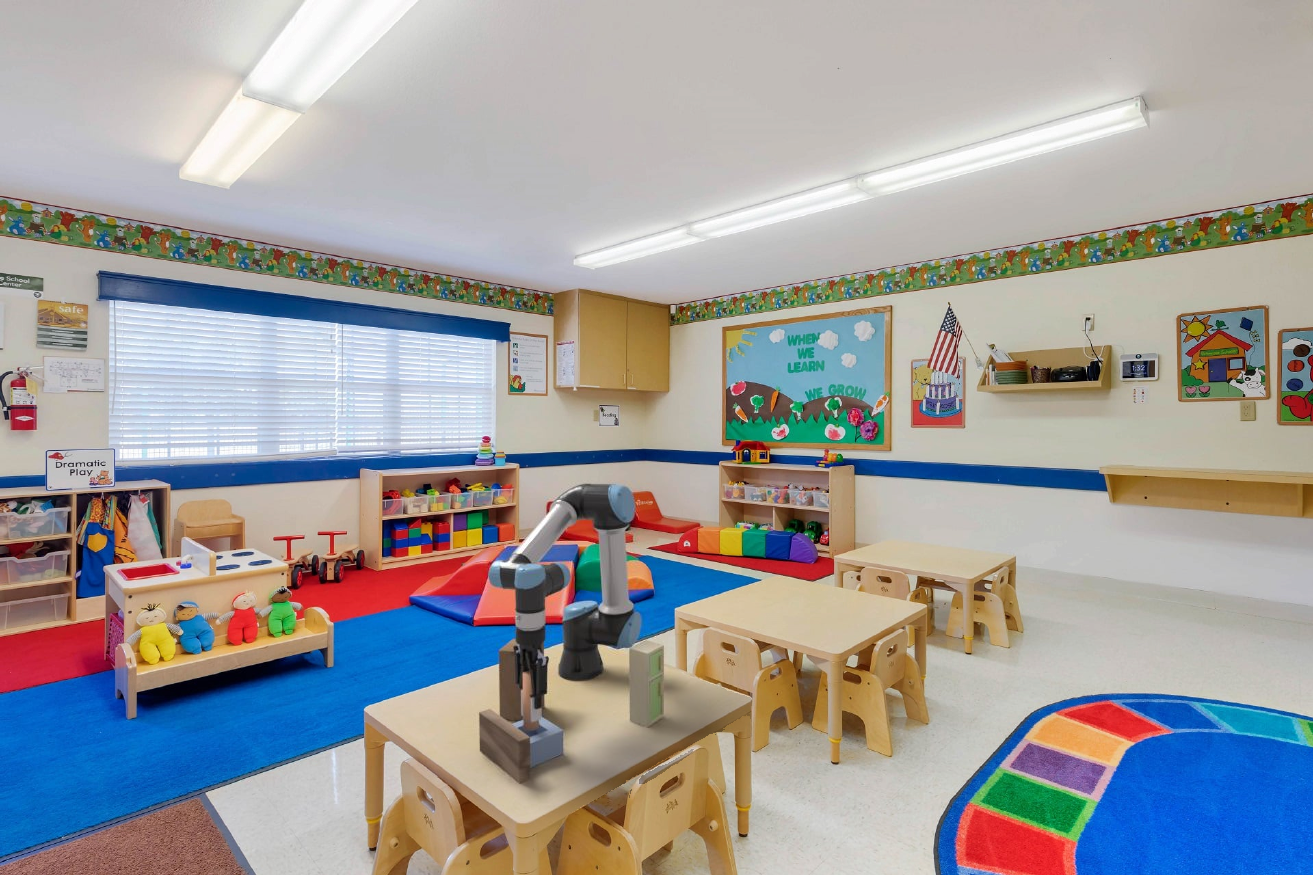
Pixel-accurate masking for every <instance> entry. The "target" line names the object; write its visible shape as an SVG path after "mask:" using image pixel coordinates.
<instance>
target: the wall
mask: <svg viewBox="0 0 1313 875" xmlns="http://www.w3.org/2000/svg"><path fill="white" fill-rule="evenodd" d="M478 719H479V720H478V722H479V724H478V725H479V728H478V729H479V731H478V732H479V733H478V734H479V751H480V752H481V753H482V754H483V755H484V756H486V757H487V758H488V759H489V760H490V761H491V762H493V763H494V764H495V765H496V766H497V767H499V768H500V770H502V771H503V772H505V773H506V774H507V775H509V777H511V778H512V779H513V780H514V781H515V782H517V783H518V784H521V783H523V782H526V781H529V780H531V778H532V777H531V775H532V774H531V768H530V737H529V736H528V735H526V734H525V733H524V732H522V731H521V730H519V729H518V728H516V727H515V726H514V725H512V724H513V723H511V722H509V721H508V719H504V718H502V717H501V716H500V714H498V713H496V712H495V711H494V710H492V709H491V708H488V709H485V710H482V711H479V712H478Z"/></svg>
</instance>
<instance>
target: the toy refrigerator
mask: <svg viewBox="0 0 1313 875" xmlns="http://www.w3.org/2000/svg"><path fill="white" fill-rule="evenodd" d="M628 649H629V651H628V654H629V655H628V658H629V660H628V661H629V663H628V664H629V671H628V672H629V674H628V675H629V721H630V722H632V723H635V724H637V725H639V726H643V727H645V728H649V727H650V726H652V725H653V724H655V723H657V722H658V721H661V719H663V718H664V717H665V645H664V644H661V643H657V642H653V641H649V640H644V641H642V642H639V643H637V644H636V645H635V644H634V645H633V646H632V647H630V648H628Z"/></svg>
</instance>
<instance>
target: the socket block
mask: <svg viewBox="0 0 1313 875" xmlns="http://www.w3.org/2000/svg"><path fill="white" fill-rule="evenodd" d="M511 724H512V725H514V726H515V727H516V728H518V729H519V730H521V731H522V732H524V733H525V734H526V735H528V736H529V737H530V769H532V768H533V767H535V766H538V765H539V764H543V763H545V762H547V761H549V760H552V759H553V758H554V759H555V758H556V757H558V756H561V755H564V729H561V727H559V726H557V725H556V724H554V723H553V722H551V721H550V720H548V719H546V718H544V717H543V716H541V719H540V720H539V728H538V729H536V730H533V731H526V730H524V729H523V720H521V721H516V722H514V723H511Z"/></svg>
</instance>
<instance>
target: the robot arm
mask: <svg viewBox="0 0 1313 875" xmlns="http://www.w3.org/2000/svg"><path fill="white" fill-rule="evenodd" d="M635 512H636V501H635V497H634V494H633V492H632V490H630V488H629V487H628V486H626V485H623V484H622V485H621V484H616V483H614V484H613V483H612V484H611V483H610V484H609V483H608V484H607V483H606V484H605V483H582V484H577V485H575V486H573V487H571V488H569V489H568V490H566V491H564V492H562V494H560V495H559V496H558V497H557V498H556V499H554V501H553V502H552V503H551V504H550V507H549V512H547V513H546V515H545V516H544V517H543V518H542V519H541V520H540V522H539V523H538V524H537V525H535V527H534V528H533V529H532V531H531V532H530V533H529V534H528V535H527V536H526V538H524V540H523V541H522V542H521V543H520V545H518V546H517V548H516V549H515V550H514V551H513V552H512V553H511V554H510V556H509V557H508V558H507V559H499V560H495V561H494V562H492V564H491V565H490V567H489V570H488V576H487V577H488V580H489V583H490V585H491V586H492V587H495V588H498V589H503V590H512V591H513V590H514V593H515V594H514V596H515V598H514V601H515V609H514V610H515V617H514V620H515V626H516V627H515V639H516V643H517V644H519V645H516V646H514V647H513V649H514V654H515V680H516V684H519V688H520V689H521V715H522V716H523V672H525V671H528V670H530V677H531V686H532V695H530V704H531V722H535V721H537V720H540V719H541V717H542V710H541V707H542V695H544V696H545V695H547V693H548V665H549V661H550V659H549V656H548V655H547V656H545V655H544V656H543V654H542V647H541V644H542V643H543V642H544V643H545V641H546V626H545V625H546V620H547V619H546V598H547V597H549V596H551V595H553V594H556V593H559V592H561V591H562V590H564V589H565V588H567V587H568V586H569V584H570V582H571V577H572V576H571V571H570V569H569V567H568V566H567V565H566V564H565V563H564V562H561V561H560V562H559V561H557V562H552V563H549V564H544V563H543V564H542V563H540V562H541V560H542V559H543V558H544V557H545V556H546V554H547V553H548V552H549V551H550V549H551V548H552V547H553V545H554V544H555V543H556V542H557V541H558V539H559V538H560V537H561V535H563V533H564V532H565V531H566V530H567V529H568V527H572V526H574V525H575V524H576V523H577V522H578V521H581V520H589V521H592V526H593V529H594V530H595V531H596V532H598V544H599V546H598V547H599V563H600V565H599V566H600V576H601V577H600V579H601V580H600V581H601V596H602V598H601V599H602V602H601V603H600V604H598V602H597V601H594V600H583V601H576V602H573V603H571V604H568V605H566V606H565V607H564V609H563V612H562V614H563V615H562V636H563V637H562V642H563V644H562V647H563V649H562V653H561V657H560V659H559V660H560V661H559V663H558V667H557V669H558V675H559V676H560V677H561V678H563V679H565V680H571V681H586V680H591V679H595V678H597V677H599V676H601V675H602V674H603V672H604V663H603V660H602V656H601V653H600V650H599V645H600V646H606V647H613V648H618V649H621V648H622V649H630V648H631V647H633V646H635V644H636V642H637V640H638V638H639V636H640V633H641V628H642V615H641V614H640V612H637V611H635V608H634V606H635V605H634V603H633V602H632V601H631V600H630V597H629V580H628V564H627V562H628V560H627V546H626V545H627V543H626V530H627V528H629V527H630V522H632V521H633V520H634V518H635ZM536 663H537V664H536ZM532 664H533V665H532ZM519 678H520V679H519Z"/></svg>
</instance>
